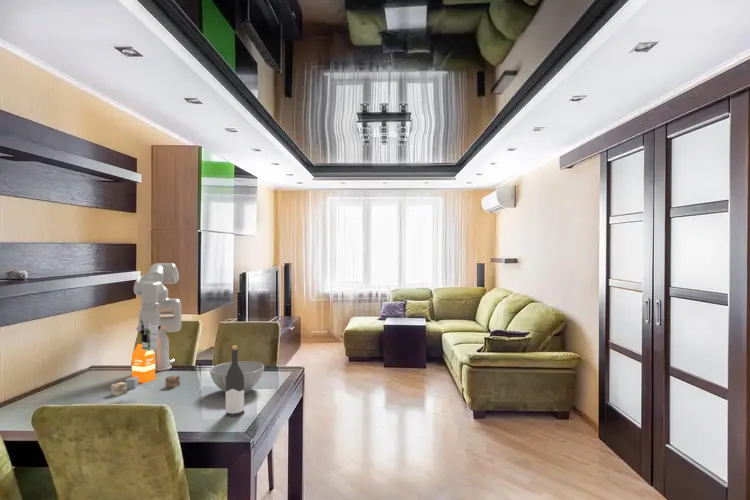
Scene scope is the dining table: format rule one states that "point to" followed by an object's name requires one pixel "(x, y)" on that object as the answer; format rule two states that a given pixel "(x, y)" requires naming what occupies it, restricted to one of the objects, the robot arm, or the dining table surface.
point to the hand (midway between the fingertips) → (150, 340)
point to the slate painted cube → (132, 382)
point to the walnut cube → (172, 381)
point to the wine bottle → (234, 388)
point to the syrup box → (151, 337)
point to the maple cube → (119, 388)
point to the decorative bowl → (248, 368)
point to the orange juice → (143, 364)
